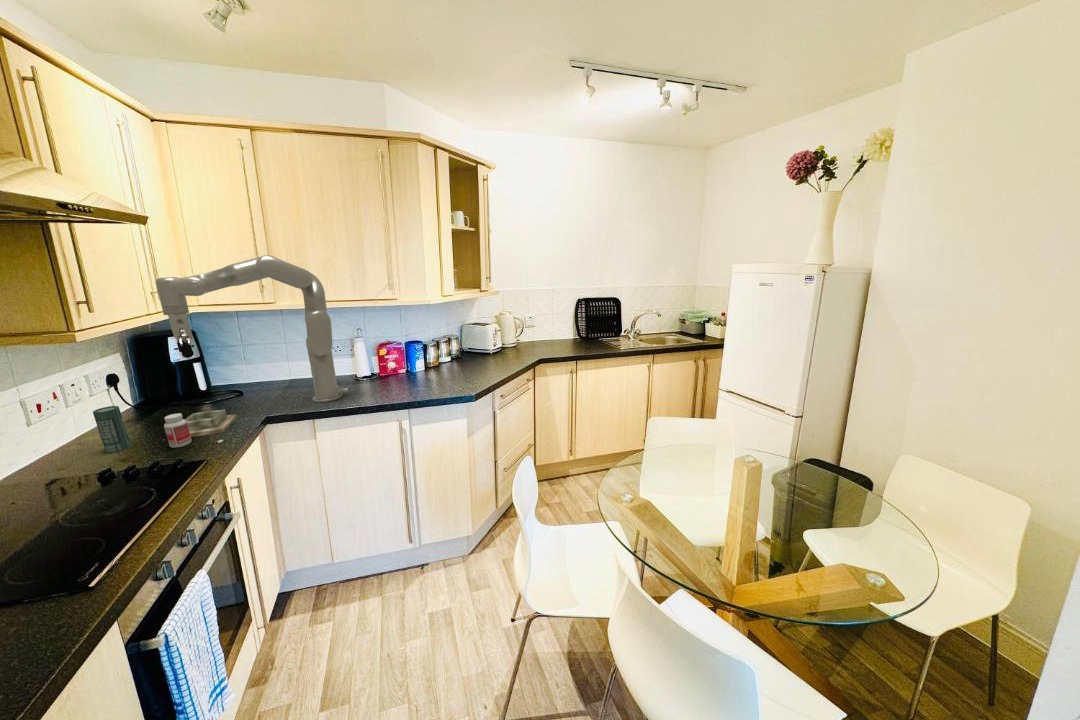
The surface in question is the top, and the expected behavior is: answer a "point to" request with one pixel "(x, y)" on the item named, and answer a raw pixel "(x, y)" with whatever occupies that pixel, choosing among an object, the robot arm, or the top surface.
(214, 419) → the socket board
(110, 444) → the can
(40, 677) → the top surface
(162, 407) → the top surface
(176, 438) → the pill bottle
